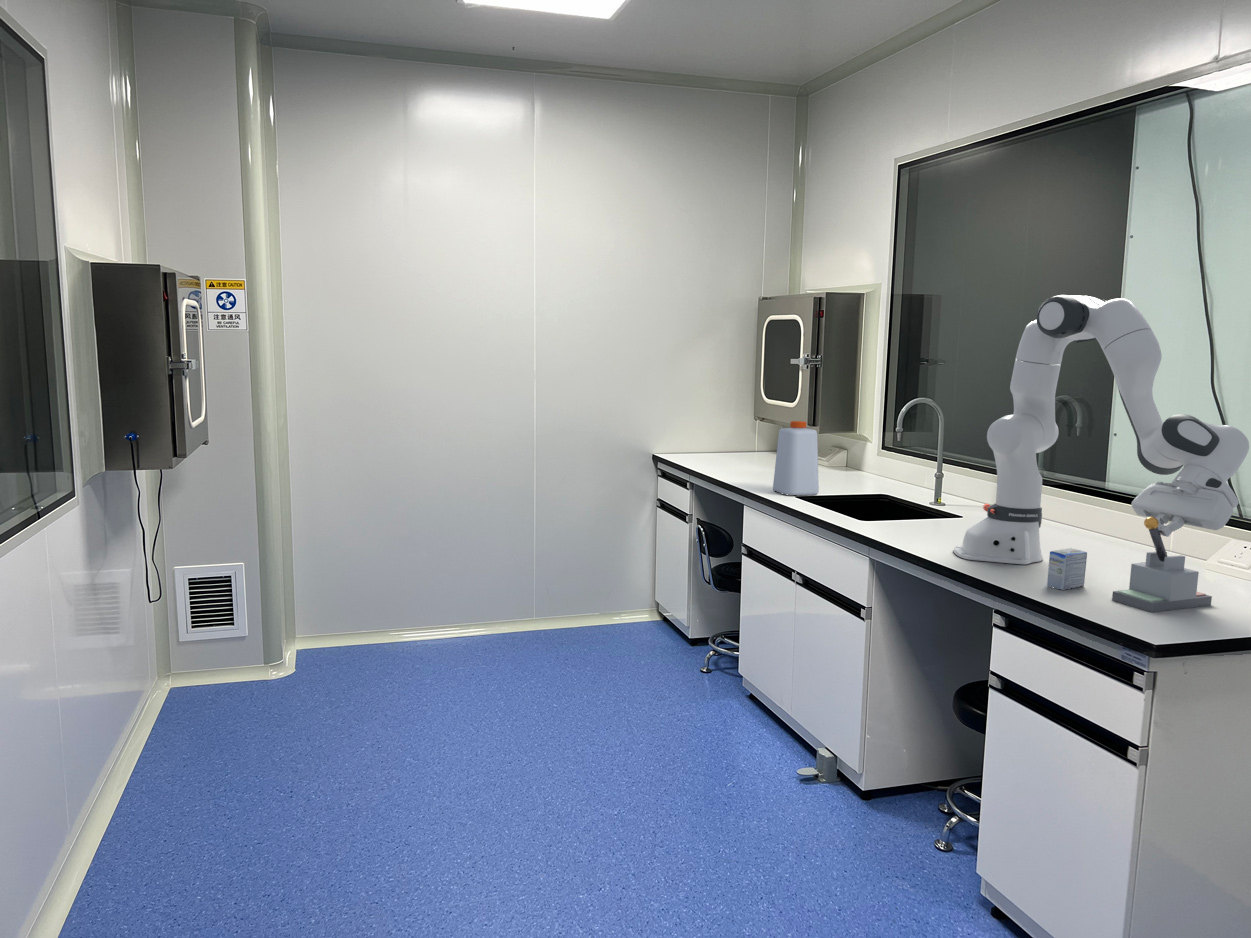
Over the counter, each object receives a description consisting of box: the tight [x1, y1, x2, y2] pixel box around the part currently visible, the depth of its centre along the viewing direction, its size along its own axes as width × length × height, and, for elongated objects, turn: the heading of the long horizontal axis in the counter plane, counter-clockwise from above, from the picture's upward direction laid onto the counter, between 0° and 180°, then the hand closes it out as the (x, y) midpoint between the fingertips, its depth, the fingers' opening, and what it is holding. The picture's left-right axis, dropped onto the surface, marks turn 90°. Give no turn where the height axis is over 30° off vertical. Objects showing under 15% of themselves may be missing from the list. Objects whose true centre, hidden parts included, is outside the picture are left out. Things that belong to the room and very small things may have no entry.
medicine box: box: [1046, 547, 1088, 591], centre depth 209 cm, size 8×4×9 cm, turn 118°
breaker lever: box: [1143, 517, 1169, 562], centre depth 194 cm, size 3×3×12 cm
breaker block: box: [1111, 551, 1213, 613], centre depth 196 cm, size 18×10×11 cm, turn 111°
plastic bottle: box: [772, 420, 820, 496], centre depth 341 cm, size 15×15×28 cm
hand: (1160, 533), depth 194 cm, fingers closed, pressing on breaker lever
